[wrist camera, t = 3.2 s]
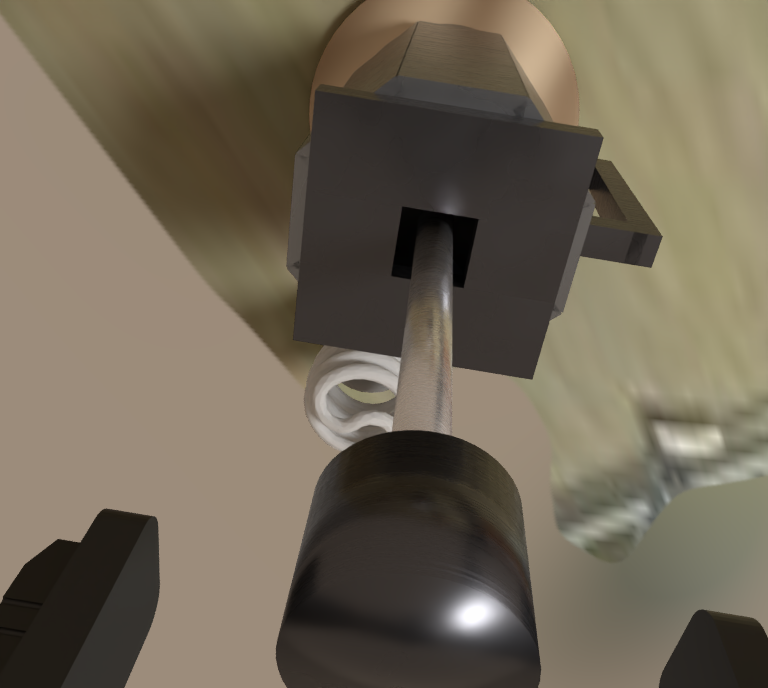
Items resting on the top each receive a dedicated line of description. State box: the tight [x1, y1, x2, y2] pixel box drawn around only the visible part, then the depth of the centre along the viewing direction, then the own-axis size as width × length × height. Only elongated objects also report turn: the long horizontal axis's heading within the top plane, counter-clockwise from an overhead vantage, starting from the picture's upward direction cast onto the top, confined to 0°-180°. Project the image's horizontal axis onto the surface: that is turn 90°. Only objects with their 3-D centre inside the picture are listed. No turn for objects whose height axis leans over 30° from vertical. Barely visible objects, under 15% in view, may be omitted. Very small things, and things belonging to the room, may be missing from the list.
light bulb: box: [304, 345, 401, 452], centre depth 39 cm, size 6×6×12 cm
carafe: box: [286, 21, 663, 380], centre depth 30 cm, size 13×10×17 cm
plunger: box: [276, 206, 541, 688], centre depth 18 cm, size 7×7×20 cm
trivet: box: [309, 0, 579, 133], centre depth 38 cm, size 14×14×1 cm
